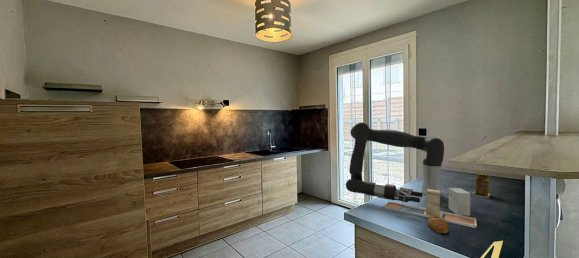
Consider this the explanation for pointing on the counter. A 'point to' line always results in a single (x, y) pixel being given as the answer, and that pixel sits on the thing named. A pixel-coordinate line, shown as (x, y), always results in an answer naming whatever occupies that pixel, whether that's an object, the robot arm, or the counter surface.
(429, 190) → the beech block
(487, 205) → the counter surface
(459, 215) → the rail channel
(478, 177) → the condiment
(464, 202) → the small box
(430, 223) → the pastry
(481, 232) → the counter surface
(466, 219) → the pads
